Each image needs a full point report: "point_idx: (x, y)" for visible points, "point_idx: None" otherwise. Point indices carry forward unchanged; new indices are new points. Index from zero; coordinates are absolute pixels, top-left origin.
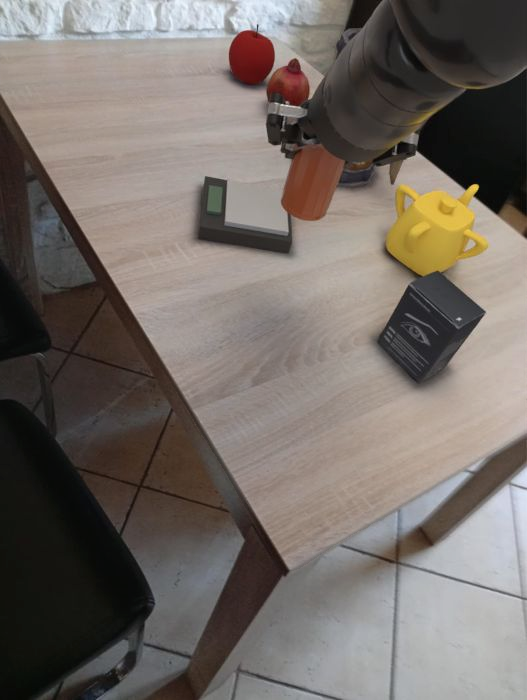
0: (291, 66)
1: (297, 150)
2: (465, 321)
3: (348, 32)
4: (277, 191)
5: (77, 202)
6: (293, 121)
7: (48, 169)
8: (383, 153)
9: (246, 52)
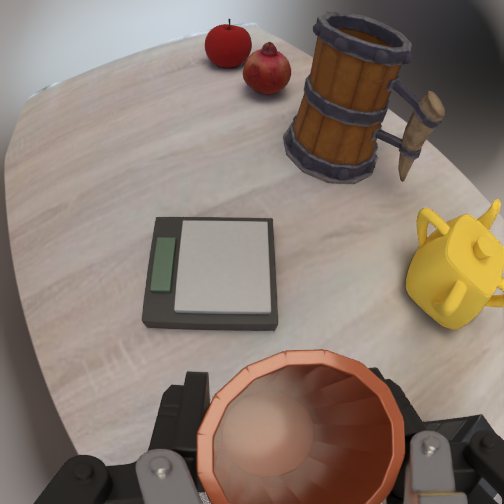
0: (265, 50)
1: (200, 490)
2: (492, 497)
3: (325, 15)
4: (254, 227)
5: (25, 287)
6: (142, 491)
7: (10, 242)
8: (475, 486)
9: (219, 43)
